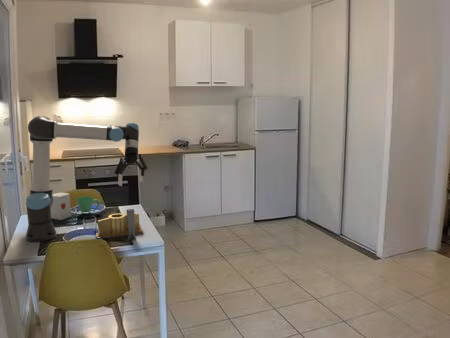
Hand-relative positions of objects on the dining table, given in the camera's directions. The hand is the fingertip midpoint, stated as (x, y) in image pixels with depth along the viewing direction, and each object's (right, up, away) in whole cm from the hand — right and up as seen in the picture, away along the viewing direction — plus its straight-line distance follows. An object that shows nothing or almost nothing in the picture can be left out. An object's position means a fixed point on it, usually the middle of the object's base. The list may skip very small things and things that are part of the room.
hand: (130, 183), depth 236 cm
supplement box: (-50, -23, +28) cm, 61 cm away
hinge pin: (+3, -29, -11) cm, 32 cm away
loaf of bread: (-7, -27, 0) cm, 28 cm away
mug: (-35, -21, +36) cm, 54 cm away
